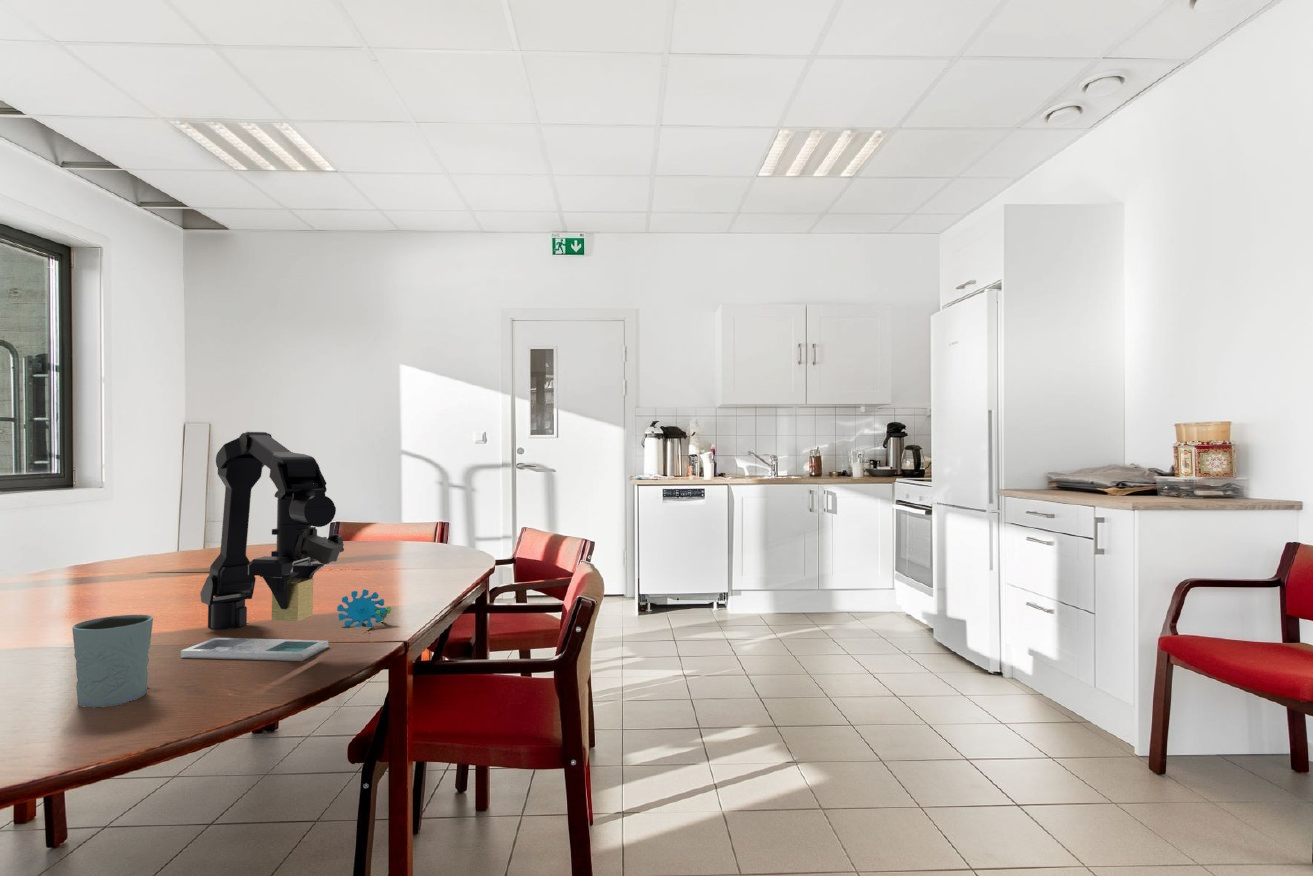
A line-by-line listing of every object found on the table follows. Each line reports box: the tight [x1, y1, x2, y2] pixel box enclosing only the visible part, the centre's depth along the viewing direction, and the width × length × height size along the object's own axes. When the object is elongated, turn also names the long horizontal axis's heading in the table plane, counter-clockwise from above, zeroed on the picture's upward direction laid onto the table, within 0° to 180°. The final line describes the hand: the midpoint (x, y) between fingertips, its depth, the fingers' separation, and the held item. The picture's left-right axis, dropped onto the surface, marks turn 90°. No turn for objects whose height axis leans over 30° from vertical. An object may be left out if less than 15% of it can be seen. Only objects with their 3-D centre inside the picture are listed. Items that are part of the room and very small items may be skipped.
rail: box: [180, 637, 329, 662], centre depth 134 cm, size 23×9×2 cm, turn 86°
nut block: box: [271, 577, 314, 622], centre depth 133 cm, size 5×5×7 cm
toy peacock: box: [336, 588, 392, 628], centre depth 158 cm, size 11×6×10 cm
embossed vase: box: [71, 614, 154, 708], centre depth 111 cm, size 10×10×12 cm
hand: (292, 605), depth 133 cm, fingers closed on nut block, 5 cm apart
